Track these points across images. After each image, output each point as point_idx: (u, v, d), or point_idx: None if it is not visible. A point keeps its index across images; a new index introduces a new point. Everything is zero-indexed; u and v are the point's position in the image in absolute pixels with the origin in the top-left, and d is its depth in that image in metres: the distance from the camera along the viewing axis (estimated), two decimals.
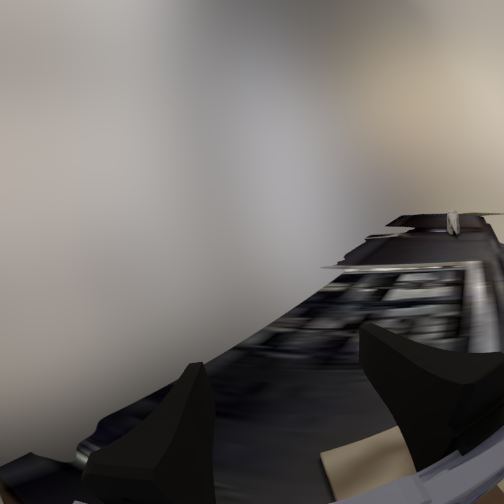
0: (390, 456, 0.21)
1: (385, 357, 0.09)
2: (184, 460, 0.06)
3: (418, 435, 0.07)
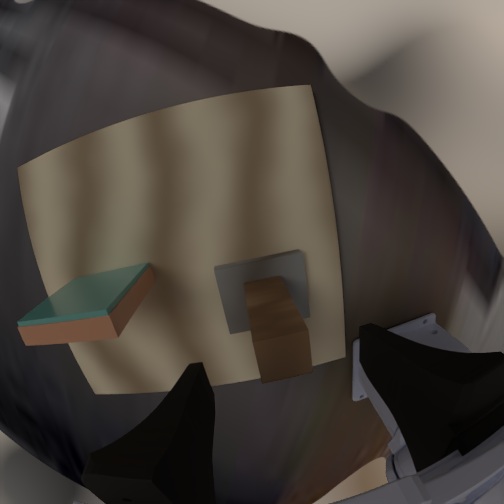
0: None
1: (385, 357, 0.09)
2: (184, 460, 0.06)
3: (418, 435, 0.07)
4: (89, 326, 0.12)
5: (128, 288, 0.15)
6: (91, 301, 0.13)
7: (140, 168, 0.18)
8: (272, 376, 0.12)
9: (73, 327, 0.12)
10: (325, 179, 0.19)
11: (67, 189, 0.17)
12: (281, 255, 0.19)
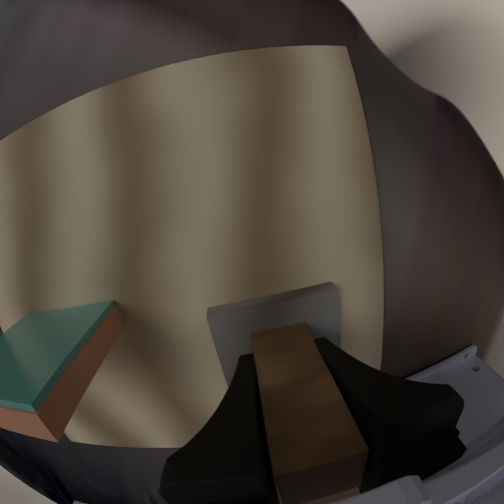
0: None
1: None
2: (263, 452, 0.06)
3: None
4: (18, 419, 0.05)
5: (74, 354, 0.08)
6: (21, 375, 0.06)
7: (97, 163, 0.11)
8: (300, 499, 0.06)
9: (1, 414, 0.05)
10: (370, 179, 0.12)
11: (9, 196, 0.11)
12: (307, 293, 0.13)
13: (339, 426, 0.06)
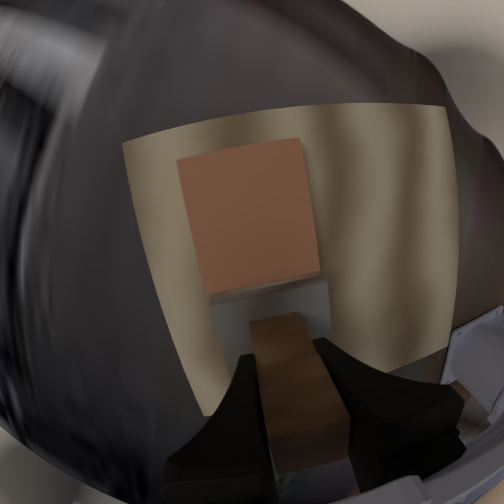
0: None
1: (330, 375, 0.09)
2: (263, 452, 0.06)
3: (359, 460, 0.07)
4: None
5: None
6: None
7: (311, 162, 0.17)
8: (293, 467, 0.07)
9: None
10: (455, 191, 0.18)
11: None
12: (299, 285, 0.14)
13: (325, 397, 0.08)
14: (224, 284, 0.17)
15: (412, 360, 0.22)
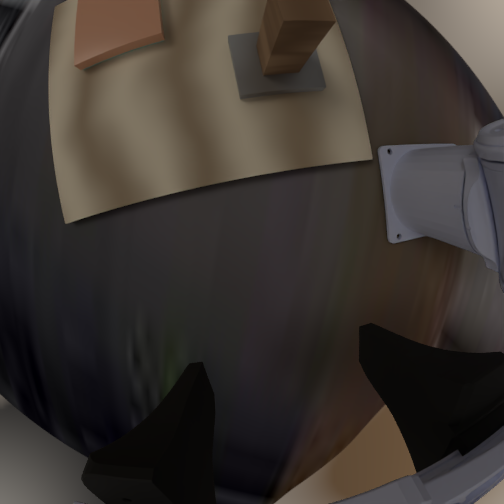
0: (92, 120, 0.17)
1: (385, 357, 0.09)
2: (184, 460, 0.06)
3: (418, 435, 0.07)
4: None
5: (159, 0, 0.14)
6: None
7: None
8: (293, 15, 0.09)
9: None
10: None
11: None
12: None
13: None
14: (87, 55, 0.14)
15: (315, 162, 0.19)
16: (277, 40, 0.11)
